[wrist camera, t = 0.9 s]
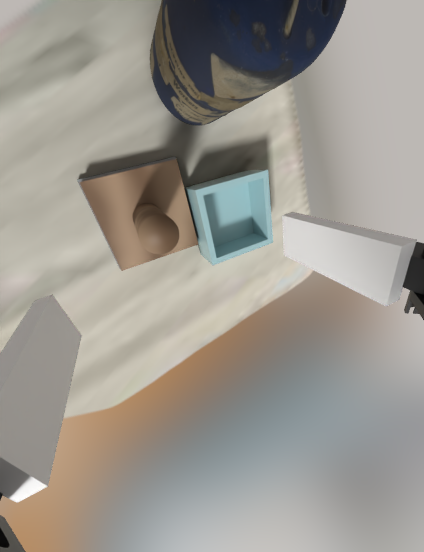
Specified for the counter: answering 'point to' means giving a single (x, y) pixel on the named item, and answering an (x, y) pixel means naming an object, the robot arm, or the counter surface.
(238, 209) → the dish
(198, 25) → the canister
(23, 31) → the counter surface
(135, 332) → the counter surface
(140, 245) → the lid
